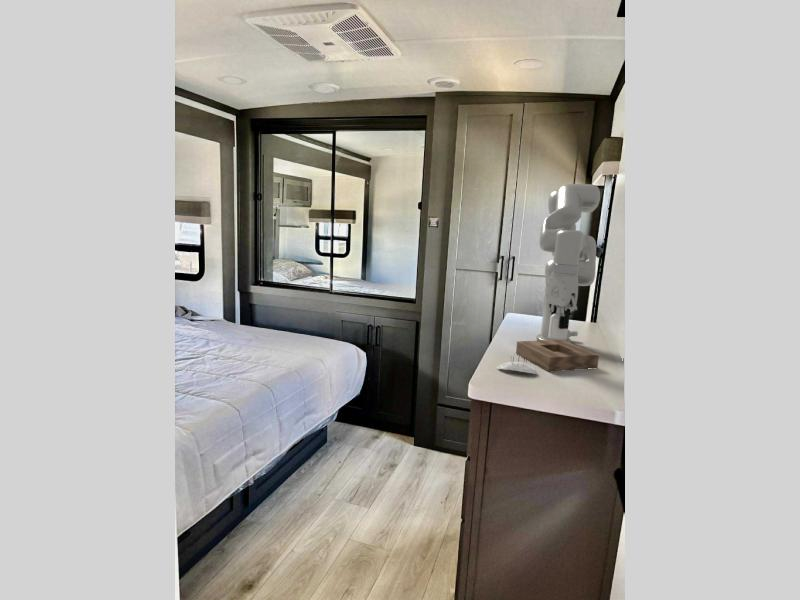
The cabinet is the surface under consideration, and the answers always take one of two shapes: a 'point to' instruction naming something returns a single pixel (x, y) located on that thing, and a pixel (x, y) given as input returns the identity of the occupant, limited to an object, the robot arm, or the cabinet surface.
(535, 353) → the walnut socket block
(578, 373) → the cabinet surface
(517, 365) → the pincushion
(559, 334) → the eye dropper bottle
